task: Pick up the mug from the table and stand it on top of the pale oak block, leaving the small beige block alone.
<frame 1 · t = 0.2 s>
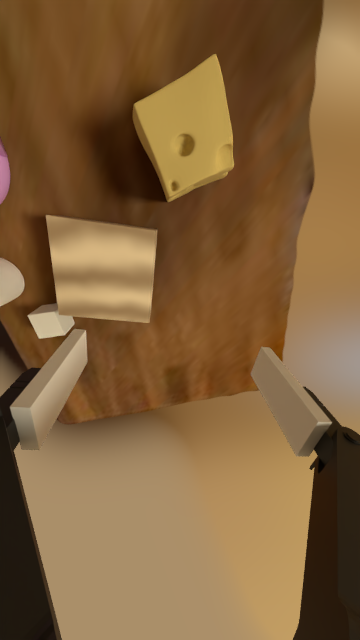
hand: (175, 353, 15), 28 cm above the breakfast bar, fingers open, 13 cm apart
oak block: (112, 268, 39), on the breakfast bar
beige block: (58, 314, 43), on the breakfast bar
cheese: (182, 157, 33), on the breakfast bar
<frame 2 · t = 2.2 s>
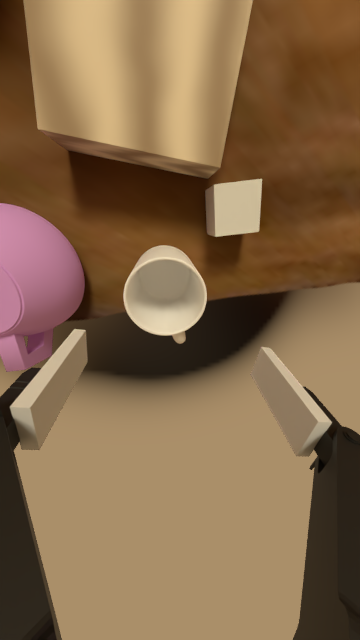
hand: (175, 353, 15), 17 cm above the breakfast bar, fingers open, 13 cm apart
oak block: (146, 67, 20), on the breakfast bar
teapot: (30, 268, 28), on the breakfast bar
beige block: (225, 210, 27), on the breakfast bar
mug: (168, 286, 31), on the breakfast bar
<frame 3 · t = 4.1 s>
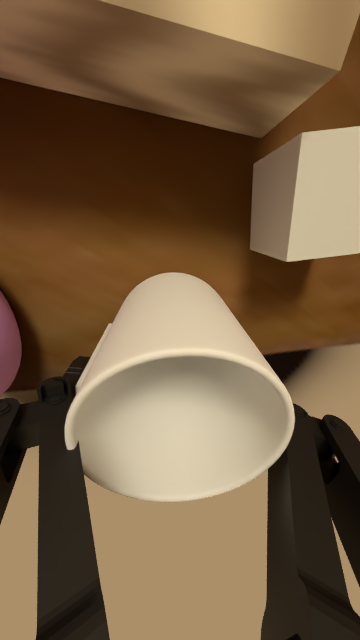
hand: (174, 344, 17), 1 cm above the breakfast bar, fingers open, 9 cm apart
beige block: (287, 205, 14), on the breakfast bar
mug: (178, 338, 18), on the breakfast bar, touching gripper
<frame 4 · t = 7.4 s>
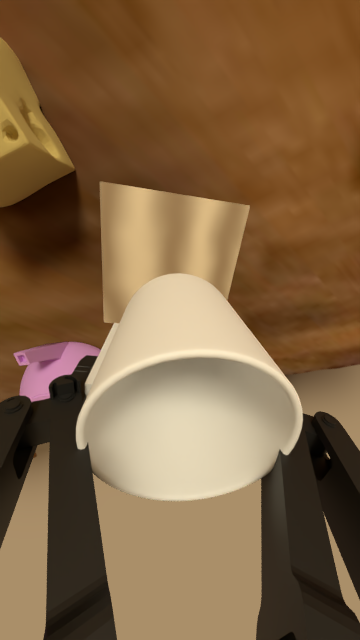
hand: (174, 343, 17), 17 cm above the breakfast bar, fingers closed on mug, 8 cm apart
oak block: (169, 261, 30), on the breakfast bar
teapot: (82, 370, 38), on the breakfast bar
cheese: (17, 144, 24), on the breakfast bar
mug: (182, 338, 18), point 16 cm above the breakfast bar, touching gripper
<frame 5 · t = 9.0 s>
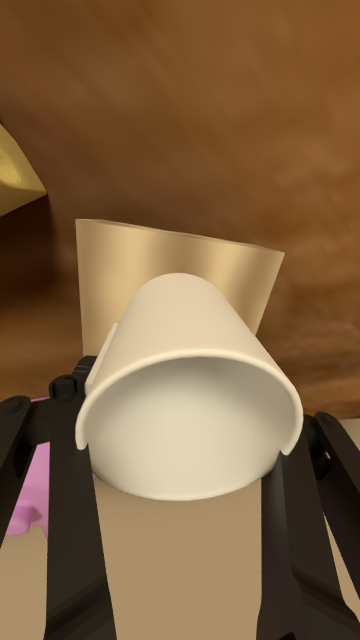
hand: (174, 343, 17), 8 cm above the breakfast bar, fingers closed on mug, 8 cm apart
oak block: (170, 305, 24), on the breakfast bar
teapot: (63, 424, 32), on the breakfast bar
mug: (182, 338, 18), point 7 cm above the breakfast bar, touching gripper
when the fingers open (7 cm above the breakfast bar, at t = 10.4 s): mug stays where it is, resting on oak block.
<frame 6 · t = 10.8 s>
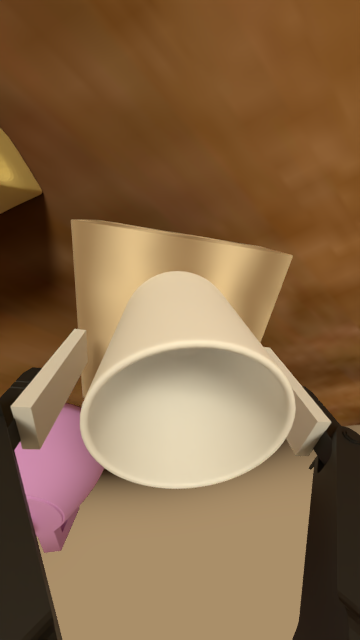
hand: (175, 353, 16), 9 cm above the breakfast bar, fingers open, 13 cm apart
oak block: (171, 309, 23), on the breakfast bar
teapot: (60, 430, 31), on the breakfast bar
mug: (181, 335, 18), point 6 cm above the breakfast bar, touching oak block
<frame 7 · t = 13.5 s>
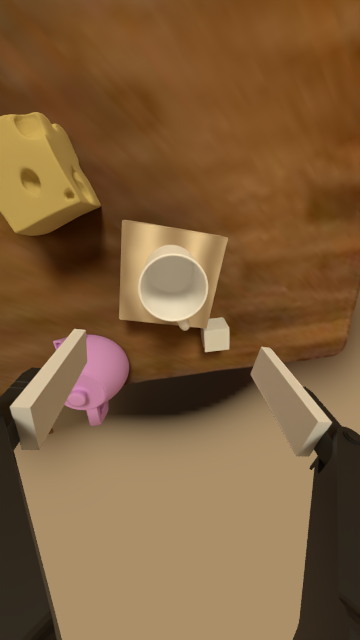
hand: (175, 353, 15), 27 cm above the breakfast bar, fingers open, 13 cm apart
oak block: (169, 273, 39), on the breakfast bar
teapot: (96, 358, 47), on the breakfast bar
beige block: (211, 328, 46), on the breakfast bar
cheese: (59, 187, 33), on the breakfast bar
mug: (173, 281, 34), point 6 cm above the breakfast bar, touching oak block
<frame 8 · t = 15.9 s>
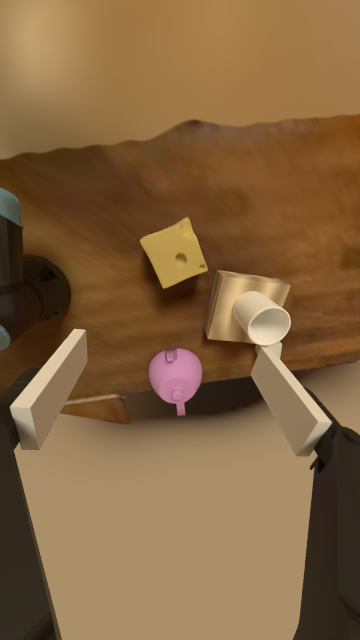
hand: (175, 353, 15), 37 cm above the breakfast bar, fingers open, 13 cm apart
oak block: (238, 304, 54), on the breakfast bar
teapot: (175, 365, 62), on the breakfast bar
beige block: (263, 342, 61), on the breakfast bar
cheese: (173, 250, 48), on the breakfast bar
mug: (249, 313, 49), point 6 cm above the breakfast bar, touching oak block
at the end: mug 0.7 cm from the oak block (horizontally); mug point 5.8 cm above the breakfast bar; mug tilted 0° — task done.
